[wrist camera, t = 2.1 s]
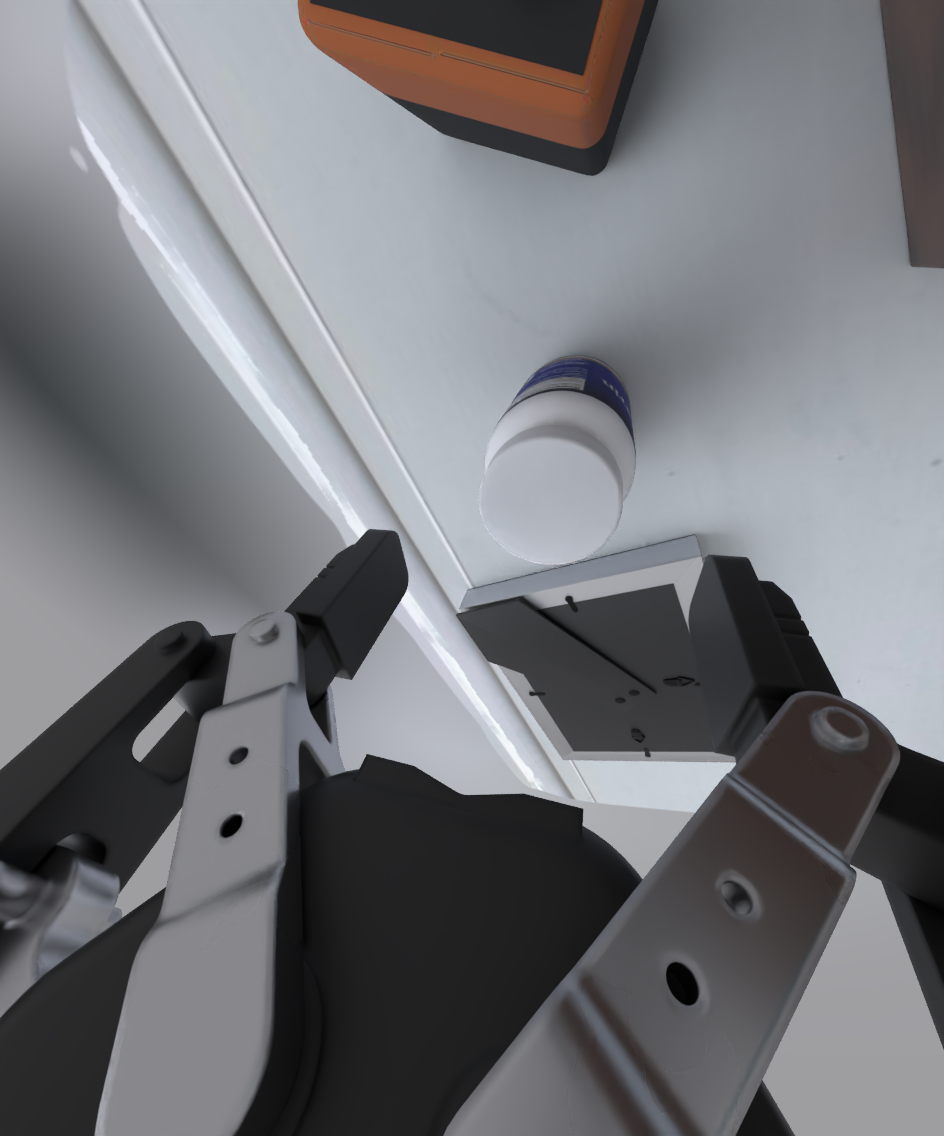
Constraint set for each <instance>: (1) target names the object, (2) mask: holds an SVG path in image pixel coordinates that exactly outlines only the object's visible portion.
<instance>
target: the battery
mask: <svg viewBox="0 0 944 1136" xmlns="http://www.w3.org/2000/svg"><path fill="white" fill-rule="evenodd" d="M657 3H658V0H298V9H299V18H300V22H301V25H302V27H303V30H304V32H305V34H306V35H307V37H308V38H309V39H310V41H311V42H312V43H313V44H314V45H315V46H316V47H317V48H318V49H319V50H321V51H322V52H323V53H325V54H326V55H328V56H329V57H330V58H332V59H333V60H335V61H336V62H338V63H339V64H341V65H342V66H344V67H345V68H347V69H348V70H350V71H351V72H352V73H354V74H355V75H357V76H358V77H360V78H361V79H363V80H364V81H366V82H367V83H369V84H370V85H372V86H373V87H374V88H376V89H377V90H379V91H380V92H382V93H383V94H385V95H386V96H388V97H389V98H391V99H392V100H394V101H395V102H397V103H398V104H399V105H401V106H402V107H404V108H405V109H407V110H408V111H410V112H411V113H413V114H414V115H416V116H417V117H419V118H420V119H421V120H423V121H424V122H426V123H427V124H429V125H430V126H432V127H433V128H435V129H436V130H438V131H439V132H441V133H443V134H445V135H448V136H451V137H454V138H458V139H461V140H464V141H468V142H472V143H475V144H479V145H482V146H486V147H489V148H493V149H496V150H500V151H503V152H507V153H510V154H514V155H517V156H521V157H524V158H528V159H532V160H535V161H539V162H542V163H546V164H549V165H553V166H556V167H560V168H563V169H567V170H570V171H574V172H577V173H581V174H585V175H590V176H593V175H597V174H599V173H600V172H601V171H602V170H603V169H604V168H605V167H606V165H607V162H608V159H609V156H610V153H611V150H612V147H613V144H614V141H615V138H616V134H617V131H618V128H619V125H620V122H621V118H622V115H623V112H624V109H625V106H626V103H627V99H628V96H629V93H630V90H631V87H632V83H633V80H634V77H635V74H636V71H637V68H638V64H639V61H640V58H641V55H642V52H643V49H644V45H645V42H646V39H647V36H648V33H649V29H650V26H651V23H652V20H653V17H654V13H655V10H656V7H657Z"/></svg>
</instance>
